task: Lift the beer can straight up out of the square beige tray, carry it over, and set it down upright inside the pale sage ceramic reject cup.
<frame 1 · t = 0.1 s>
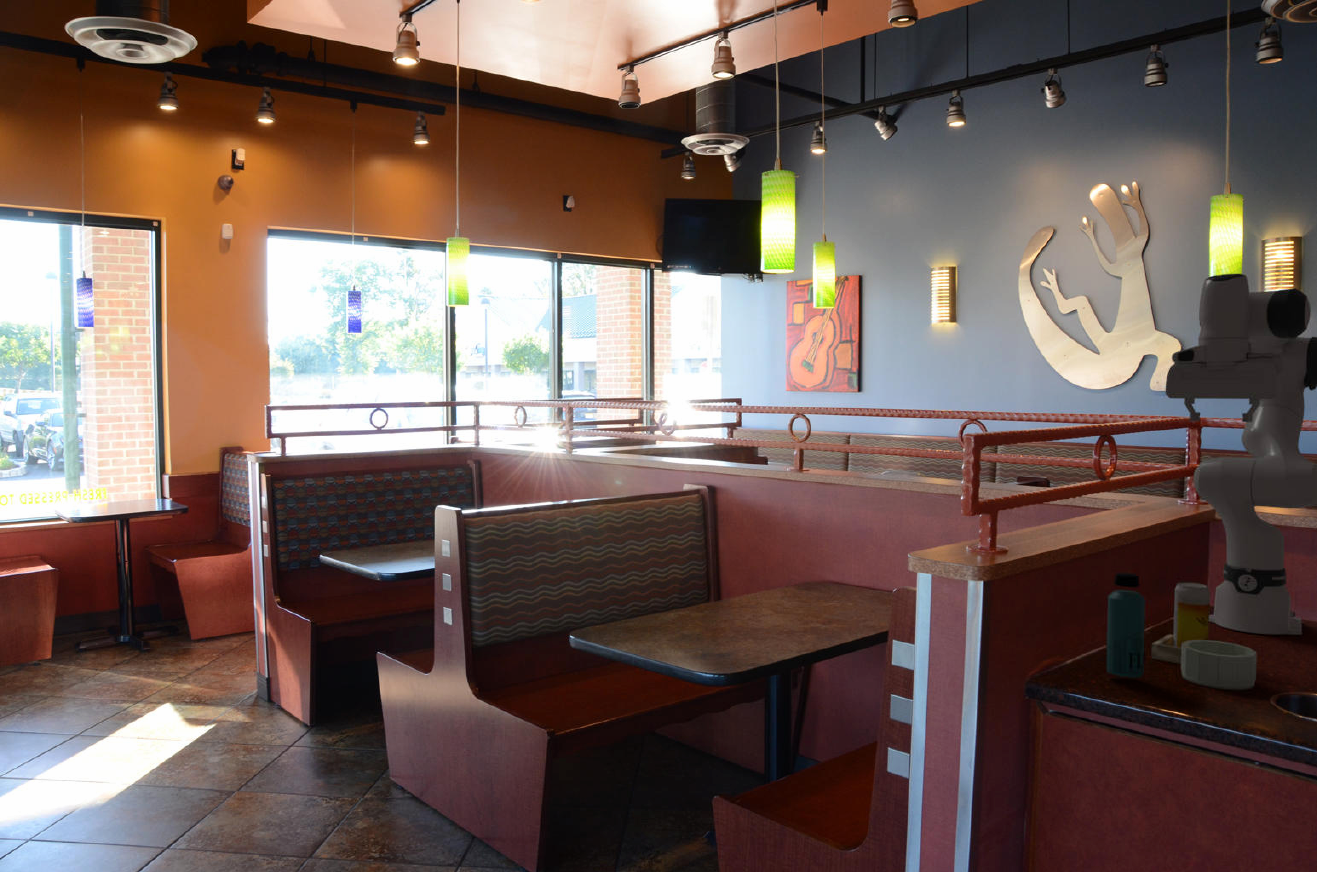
hand: (1220, 421, 190), 48 cm above the worktop, fingers open, 8 cm apart
reject cup: (1217, 679, 173), on the worktop
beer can: (1189, 659, 187), resting in square beige tray
square beige tray: (1189, 658, 187), on the worktop
beverage bottle: (1124, 681, 173), on the worktop
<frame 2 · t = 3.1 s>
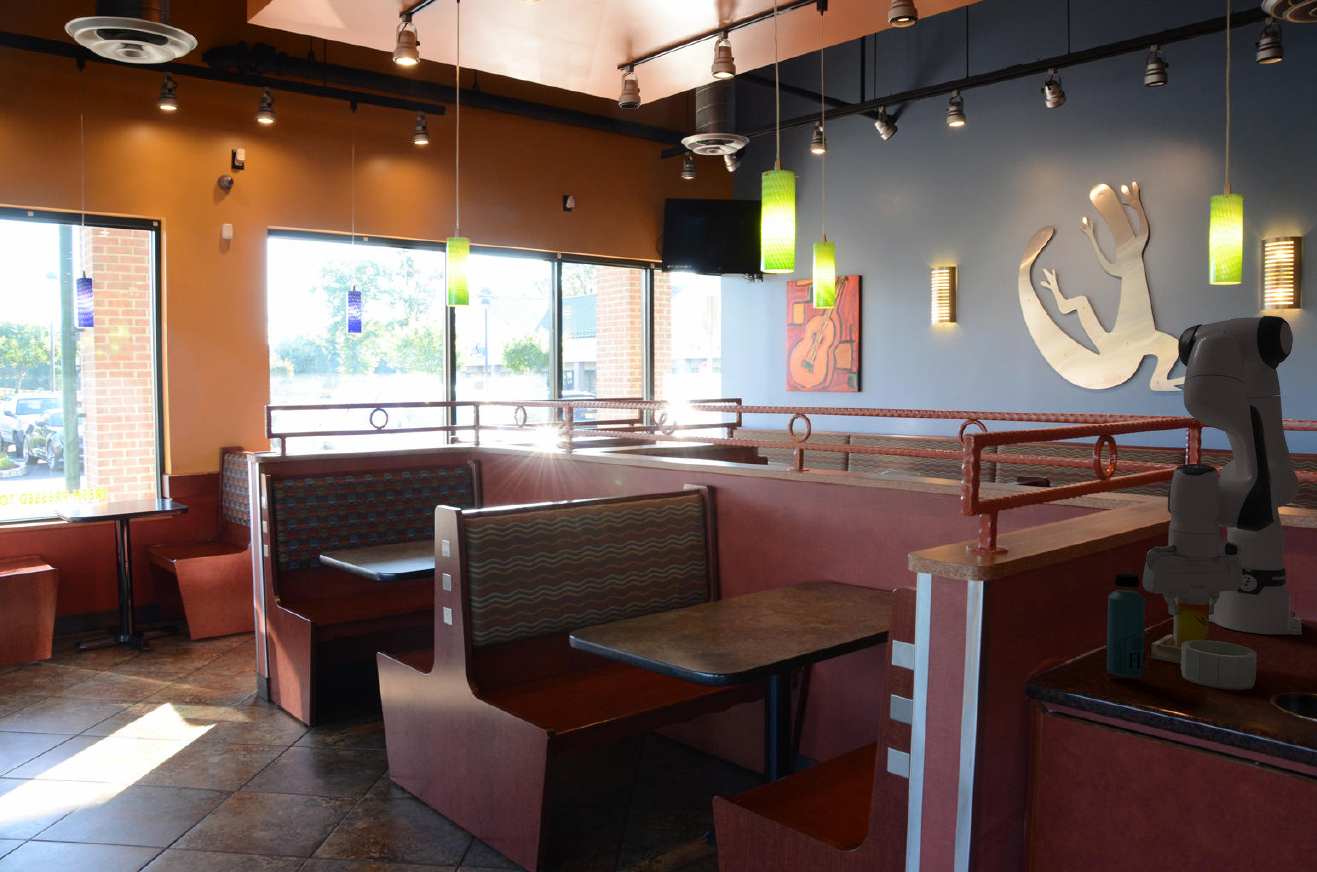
hand: (1190, 613, 187), 9 cm above the worktop, fingers closed on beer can, 6 cm apart
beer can: (1189, 659, 187), resting in square beige tray, touching gripper
everything else where it was.
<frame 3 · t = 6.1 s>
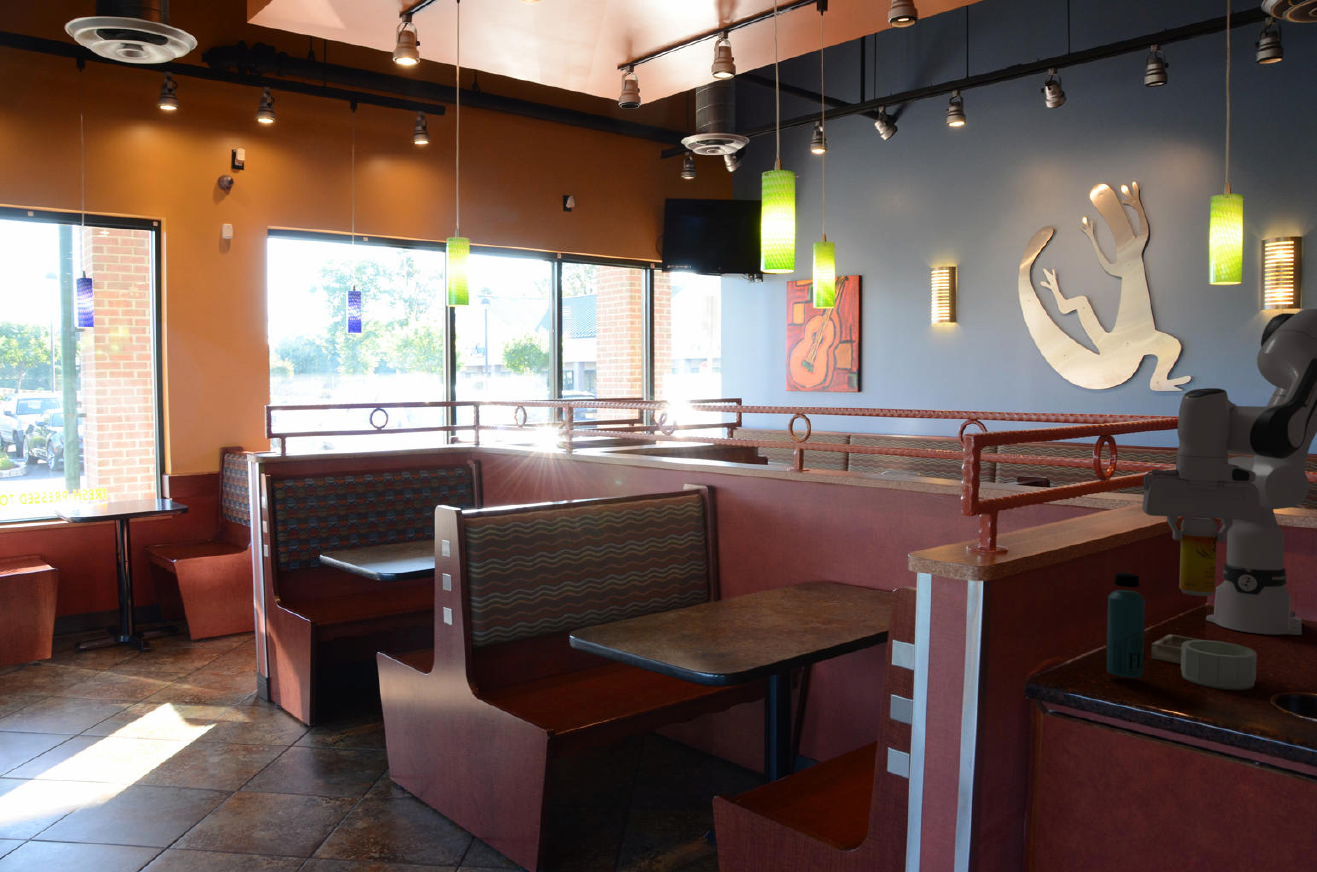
hand: (1198, 540, 184), 24 cm above the worktop, fingers closed on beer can, 6 cm apart
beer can: (1196, 594, 184), point 14 cm above the worktop, touching gripper
everything else where it was.
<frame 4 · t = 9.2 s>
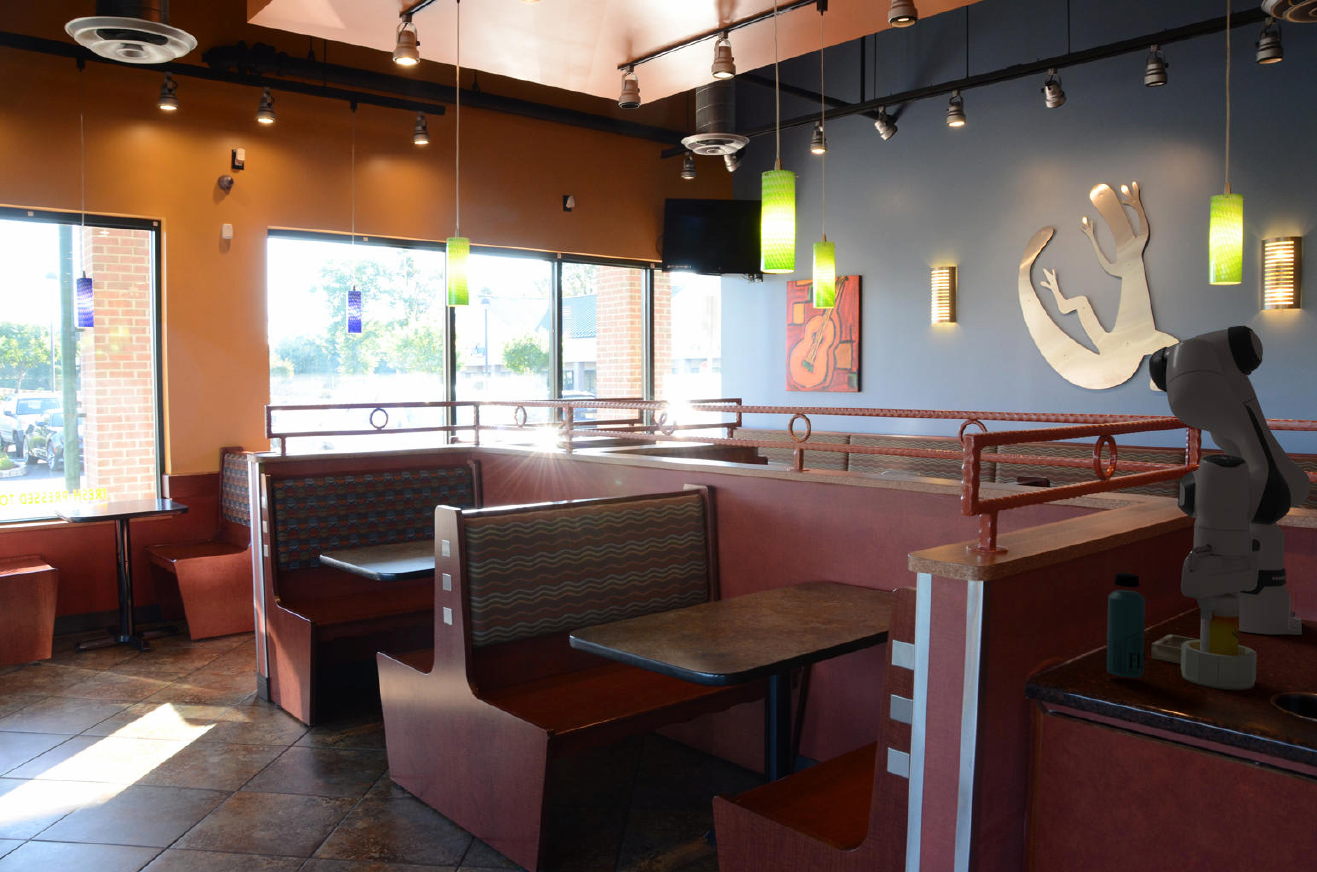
hand: (1218, 616, 173), 12 cm above the worktop, fingers closed on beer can, 6 cm apart
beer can: (1218, 676, 173), point 1 cm above the worktop, touching gripper, reject cup
everything else where it was.
when the fingers open (12 cm above the worktop, at t = 9.8 s): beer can stays where it is, resting on reject cup.
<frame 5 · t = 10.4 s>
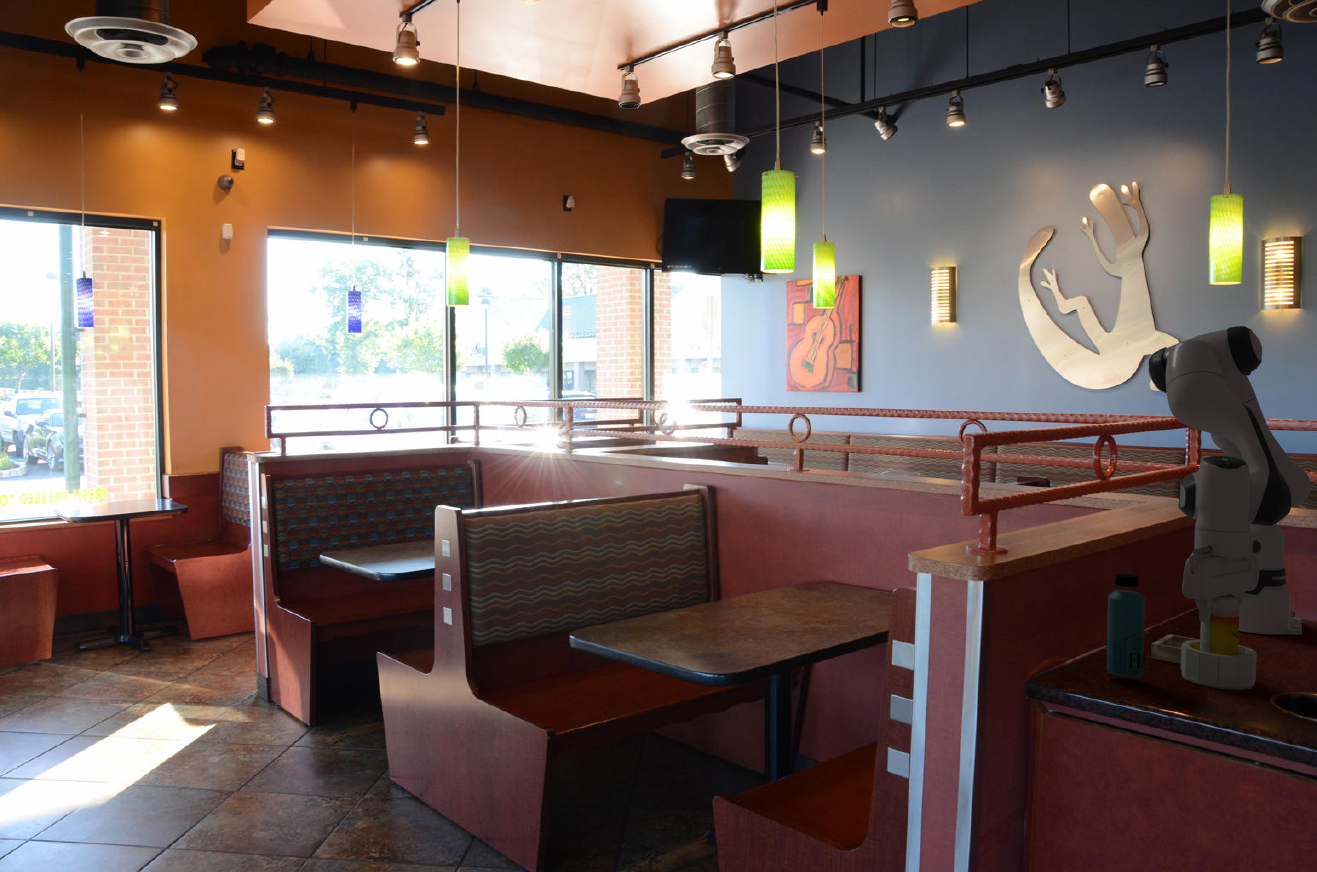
hand: (1219, 618, 173), 12 cm above the worktop, fingers open, 8 cm apart
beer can: (1218, 676, 173), point 1 cm above the worktop, touching reject cup
everything else where it was.
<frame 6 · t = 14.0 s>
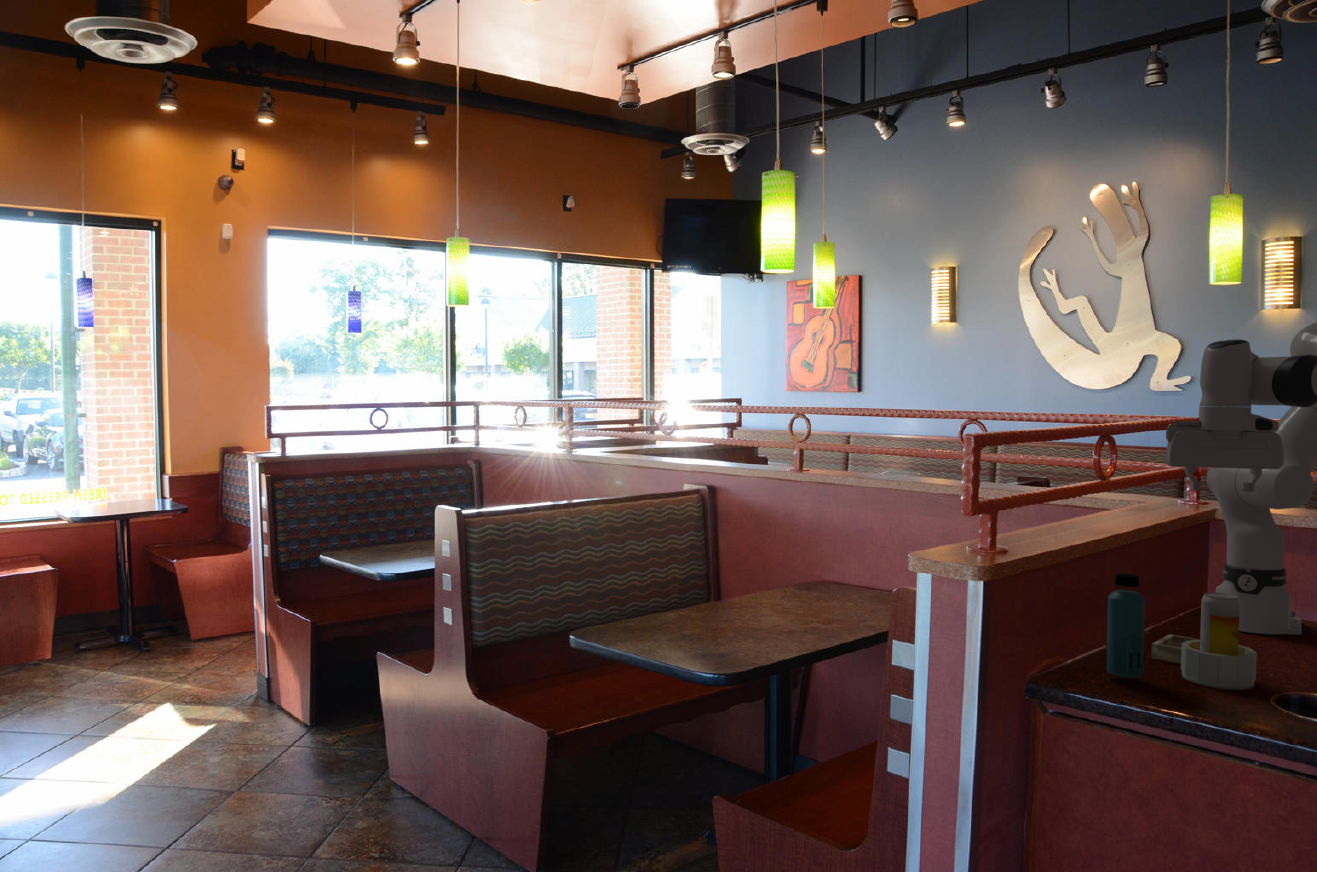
hand: (1222, 490, 185), 34 cm above the worktop, fingers open, 8 cm apart
nothing on the worktop moved.
at the end: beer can 0.2 cm off-centre on the reject cup, point 0.8 cm above the reject cup's base; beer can tilted 0°; the gripper is holding nothing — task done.
